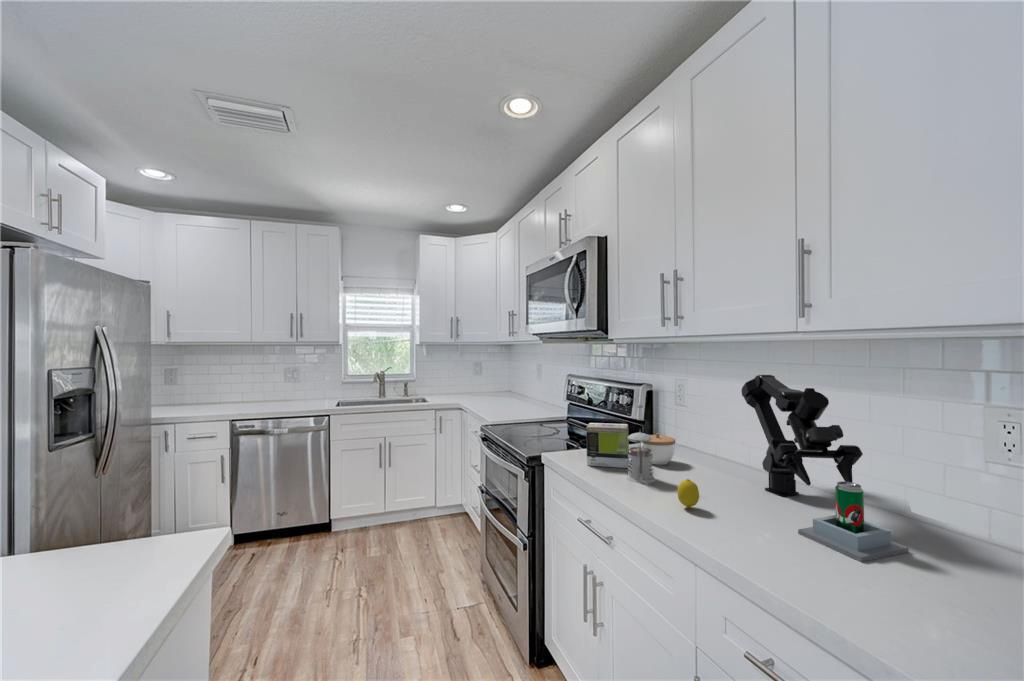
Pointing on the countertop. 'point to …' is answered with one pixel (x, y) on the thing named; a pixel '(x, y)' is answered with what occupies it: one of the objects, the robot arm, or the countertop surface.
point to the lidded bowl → (660, 448)
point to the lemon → (688, 493)
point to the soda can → (849, 507)
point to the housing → (853, 539)
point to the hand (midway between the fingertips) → (830, 485)
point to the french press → (640, 459)
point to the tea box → (607, 445)
